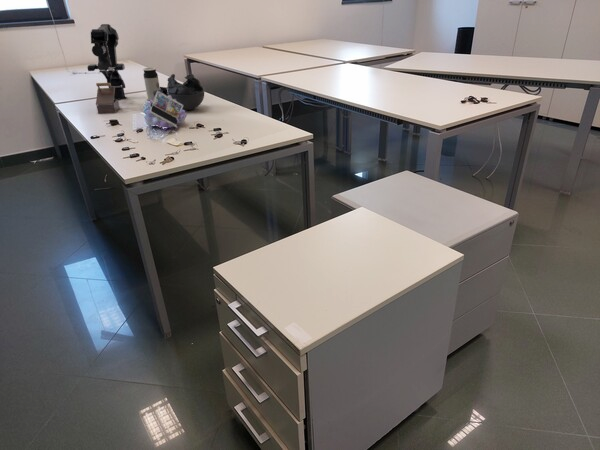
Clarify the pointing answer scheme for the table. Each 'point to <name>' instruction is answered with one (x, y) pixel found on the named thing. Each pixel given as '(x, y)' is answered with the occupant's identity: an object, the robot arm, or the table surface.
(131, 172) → the table surface
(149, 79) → the travel mug
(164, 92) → the speaker
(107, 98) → the lid
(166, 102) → the crystal picture frame
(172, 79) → the bowl of black rocks
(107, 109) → the key box
